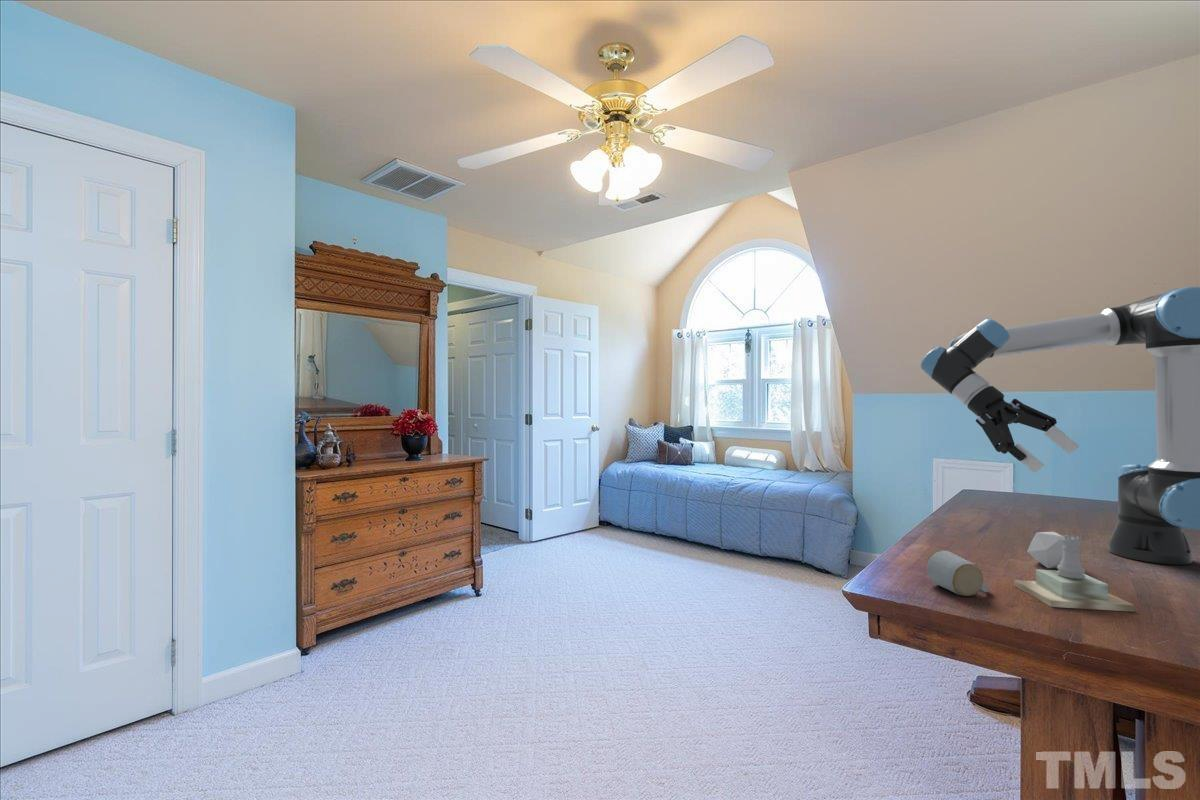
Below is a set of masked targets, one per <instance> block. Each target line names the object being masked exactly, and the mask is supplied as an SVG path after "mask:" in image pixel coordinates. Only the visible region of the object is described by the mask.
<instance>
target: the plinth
mask: <svg viewBox="0 0 1200 800" xmlns="http://www.w3.org/2000/svg"><path fill="white" fill-rule="evenodd" d="M1057 571H1058V570H1055V569H1054V570H1053V569H1035V580H1019V579H1013V586H1014V587H1015V588H1017V589H1019V590H1021V591H1022V592H1024V593H1026V594H1027V595H1029V596H1031V597H1032V598H1035V599H1036V600H1038V601H1040V602H1042V603H1044V604H1045V605H1047V606H1049V607H1050V608H1064V609H1066V608H1067V609H1081V610H1084V609H1085V610H1098V611H1099V610H1103V611H1115V612H1116V611H1119V612H1135V605H1134V604H1133V603H1131V602H1128V601H1126V600H1125V599H1122V598H1120V597H1118V596H1115V595H1113V594H1111V593H1109V584H1108V583H1106V582H1103V581H1101V580H1099V579H1096V578H1094V577H1093V576H1089V575H1088V574H1086V573H1084V574H1083V575H1085V578H1084V579H1082V580H1075V579H1068V578H1064V577H1061V576H1059V575H1058V573H1057Z"/></svg>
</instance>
